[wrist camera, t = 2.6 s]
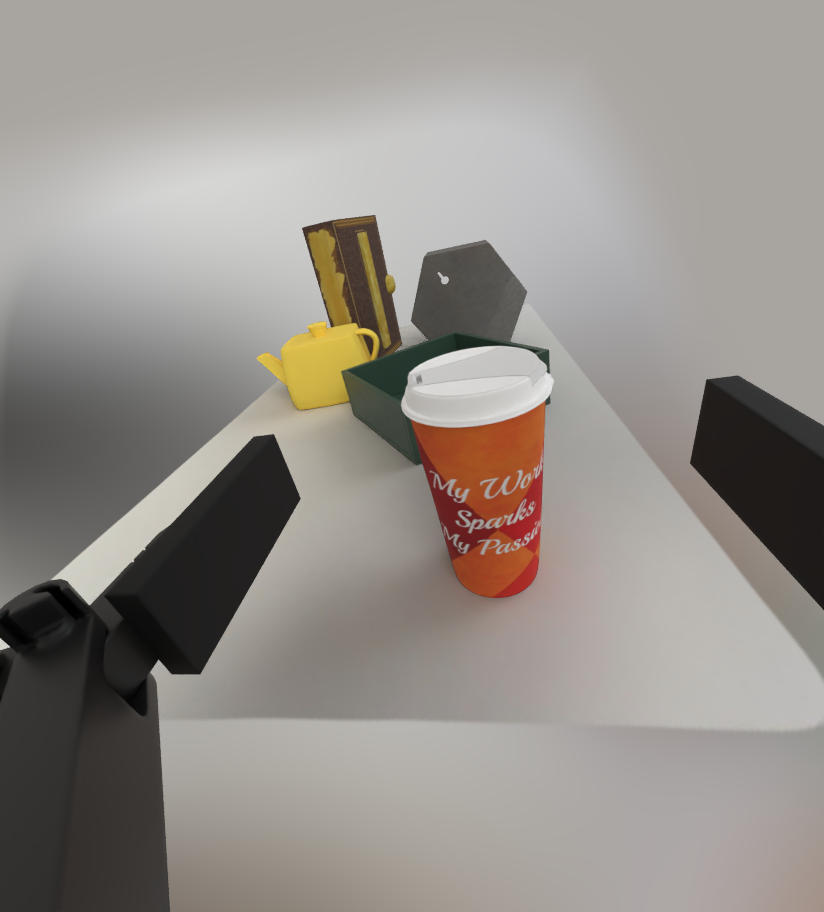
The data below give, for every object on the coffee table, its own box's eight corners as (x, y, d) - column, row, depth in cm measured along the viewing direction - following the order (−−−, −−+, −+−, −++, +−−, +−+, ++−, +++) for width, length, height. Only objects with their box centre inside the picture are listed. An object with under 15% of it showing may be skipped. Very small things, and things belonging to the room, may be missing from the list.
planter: (538, 307, 71) (464, 212, 65) (547, 317, 65) (465, 212, 58) (467, 368, 79) (393, 289, 72) (468, 382, 72) (387, 296, 66)
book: (377, 374, 72) (338, 218, 60) (336, 378, 75) (291, 230, 62) (410, 339, 90) (385, 213, 77) (376, 343, 93) (347, 222, 80)
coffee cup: (445, 622, 25) (395, 413, 18) (434, 535, 32) (395, 360, 25) (577, 601, 25) (582, 376, 17) (536, 517, 32) (527, 332, 24)
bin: (550, 403, 49) (549, 349, 45) (416, 465, 42) (403, 408, 39) (461, 372, 64) (455, 331, 61) (353, 414, 58) (340, 370, 55)
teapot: (267, 419, 63) (237, 347, 58) (286, 391, 74) (262, 328, 68) (388, 395, 62) (369, 319, 56) (389, 370, 73) (374, 304, 67)
